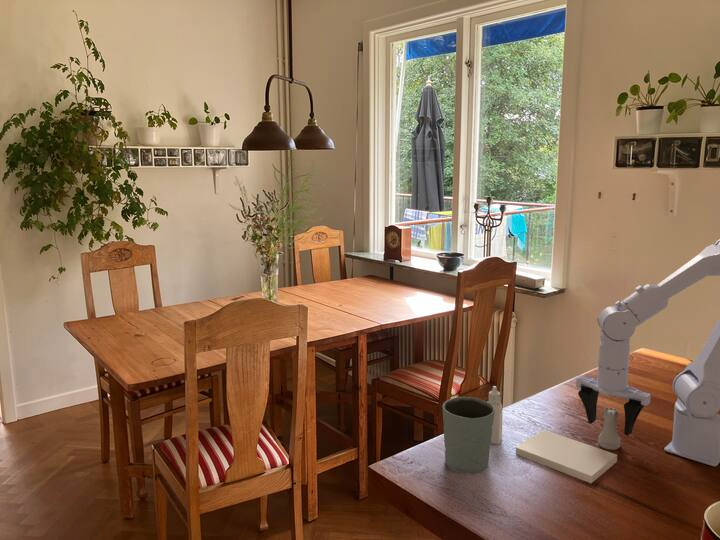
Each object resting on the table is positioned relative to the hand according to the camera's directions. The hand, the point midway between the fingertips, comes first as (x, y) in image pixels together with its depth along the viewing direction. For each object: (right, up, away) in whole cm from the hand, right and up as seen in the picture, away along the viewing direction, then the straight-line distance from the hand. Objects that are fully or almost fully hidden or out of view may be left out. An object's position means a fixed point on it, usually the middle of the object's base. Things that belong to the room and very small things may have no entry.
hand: (609, 427), depth 121 cm
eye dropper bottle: (-23, -4, +5) cm, 24 cm away
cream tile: (-11, -5, -4) cm, 12 cm away
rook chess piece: (0, -4, +1) cm, 4 cm away
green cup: (-30, -6, -4) cm, 31 cm away
